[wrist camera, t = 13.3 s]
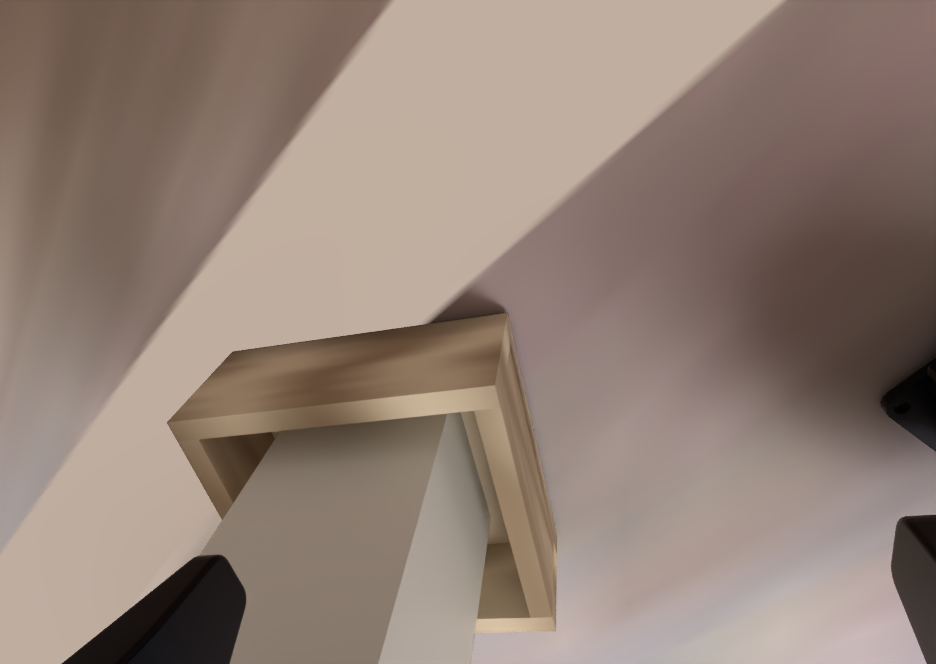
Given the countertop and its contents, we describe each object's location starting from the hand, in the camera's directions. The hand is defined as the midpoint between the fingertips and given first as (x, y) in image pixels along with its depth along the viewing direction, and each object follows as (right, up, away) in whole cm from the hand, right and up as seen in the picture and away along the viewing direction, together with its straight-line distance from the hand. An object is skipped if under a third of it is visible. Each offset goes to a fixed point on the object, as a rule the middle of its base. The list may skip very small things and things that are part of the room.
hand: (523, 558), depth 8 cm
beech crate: (-3, -2, +17) cm, 17 cm away
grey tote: (-4, -2, +16) cm, 16 cm away
